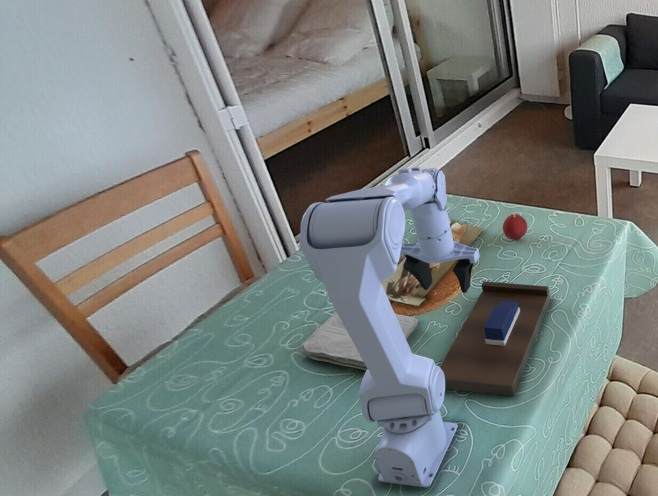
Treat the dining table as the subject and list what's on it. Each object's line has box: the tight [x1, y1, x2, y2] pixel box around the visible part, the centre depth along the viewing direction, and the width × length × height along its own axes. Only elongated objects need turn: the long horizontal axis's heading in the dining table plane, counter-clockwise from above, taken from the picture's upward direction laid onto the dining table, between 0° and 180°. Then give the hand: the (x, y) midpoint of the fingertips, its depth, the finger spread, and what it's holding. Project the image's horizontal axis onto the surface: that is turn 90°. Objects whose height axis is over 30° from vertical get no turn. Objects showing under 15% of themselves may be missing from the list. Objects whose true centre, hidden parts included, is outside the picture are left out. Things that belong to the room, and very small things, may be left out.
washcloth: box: [300, 309, 419, 371], centre depth 95 cm, size 12×18×3 cm, turn 78°
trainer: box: [484, 301, 520, 346], centre depth 94 cm, size 8×4×4 cm, turn 173°
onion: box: [502, 212, 528, 241], centre depth 121 cm, size 6×6×8 cm
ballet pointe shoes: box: [381, 219, 485, 306], centre depth 115 cm, size 14×7×28 cm
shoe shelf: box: [439, 281, 551, 397], centre depth 94 cm, size 22×14×4 cm, turn 173°
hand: (447, 287), depth 95 cm, fingers open, 7 cm apart
